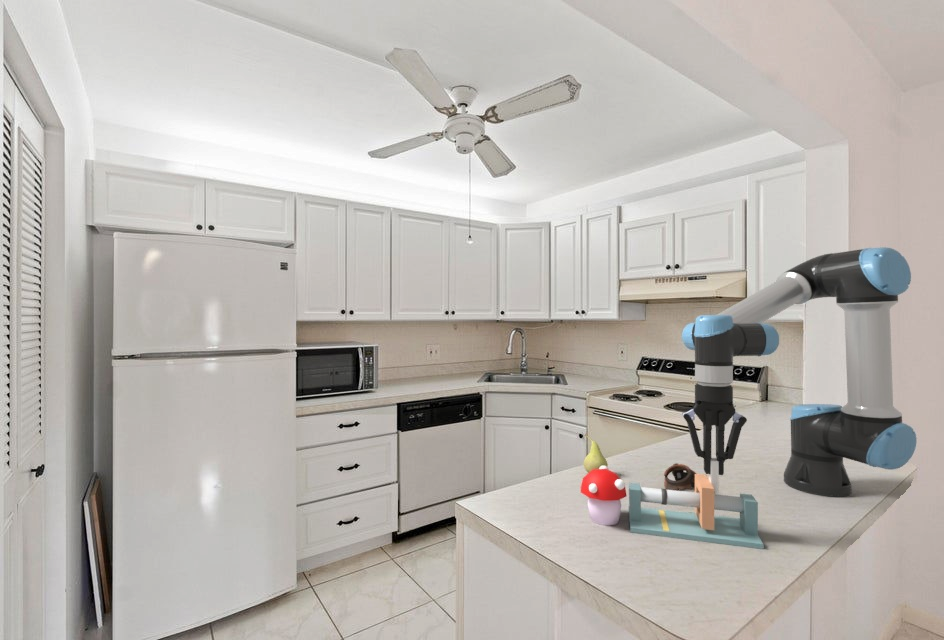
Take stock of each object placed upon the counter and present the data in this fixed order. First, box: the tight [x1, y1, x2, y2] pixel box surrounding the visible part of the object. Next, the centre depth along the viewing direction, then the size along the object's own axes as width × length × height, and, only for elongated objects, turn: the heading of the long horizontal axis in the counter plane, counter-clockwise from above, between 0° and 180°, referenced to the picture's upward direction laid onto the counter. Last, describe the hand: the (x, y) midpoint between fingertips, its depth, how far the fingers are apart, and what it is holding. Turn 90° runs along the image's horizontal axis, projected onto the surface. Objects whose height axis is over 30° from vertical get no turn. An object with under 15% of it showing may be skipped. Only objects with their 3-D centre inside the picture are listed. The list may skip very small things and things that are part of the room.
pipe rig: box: [628, 482, 764, 550], centre depth 103 cm, size 26×12×8 cm, turn 73°
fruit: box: [583, 433, 609, 474], centre depth 137 cm, size 7×8×12 cm
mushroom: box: [580, 466, 628, 527], centre depth 108 cm, size 11×11×12 cm
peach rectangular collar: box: [694, 473, 715, 530], centre depth 102 cm, size 2×9×9 cm, turn 163°
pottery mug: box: [663, 462, 697, 491], centre depth 125 cm, size 12×10×8 cm
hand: (713, 488), depth 101 cm, fingers closed
